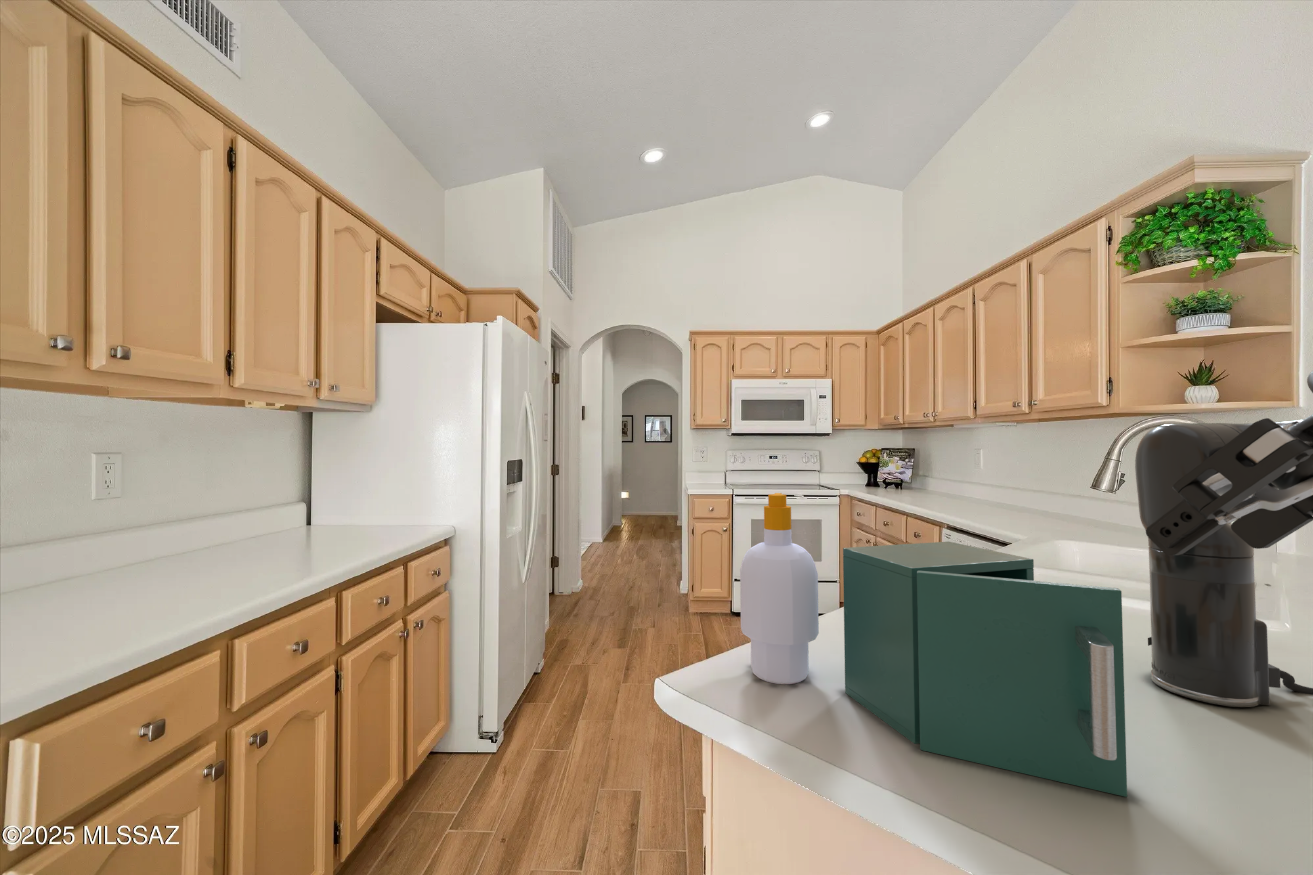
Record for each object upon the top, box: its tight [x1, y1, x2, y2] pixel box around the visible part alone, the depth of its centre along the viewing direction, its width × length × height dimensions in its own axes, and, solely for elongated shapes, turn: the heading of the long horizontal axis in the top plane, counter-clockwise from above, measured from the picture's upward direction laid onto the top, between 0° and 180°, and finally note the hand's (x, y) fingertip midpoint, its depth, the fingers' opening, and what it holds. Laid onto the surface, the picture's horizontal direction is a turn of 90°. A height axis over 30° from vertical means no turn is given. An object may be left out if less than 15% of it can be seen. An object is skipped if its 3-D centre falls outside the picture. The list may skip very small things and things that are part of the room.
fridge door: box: [917, 571, 1128, 798], centre depth 48 cm, size 6×16×18 cm, turn 62°
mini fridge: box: [842, 541, 1035, 745], centre depth 62 cm, size 12×16×18 cm
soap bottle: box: [739, 492, 820, 685], centre depth 72 cm, size 10×10×24 cm
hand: (1203, 541), depth 37 cm, fingers open, 8 cm apart
